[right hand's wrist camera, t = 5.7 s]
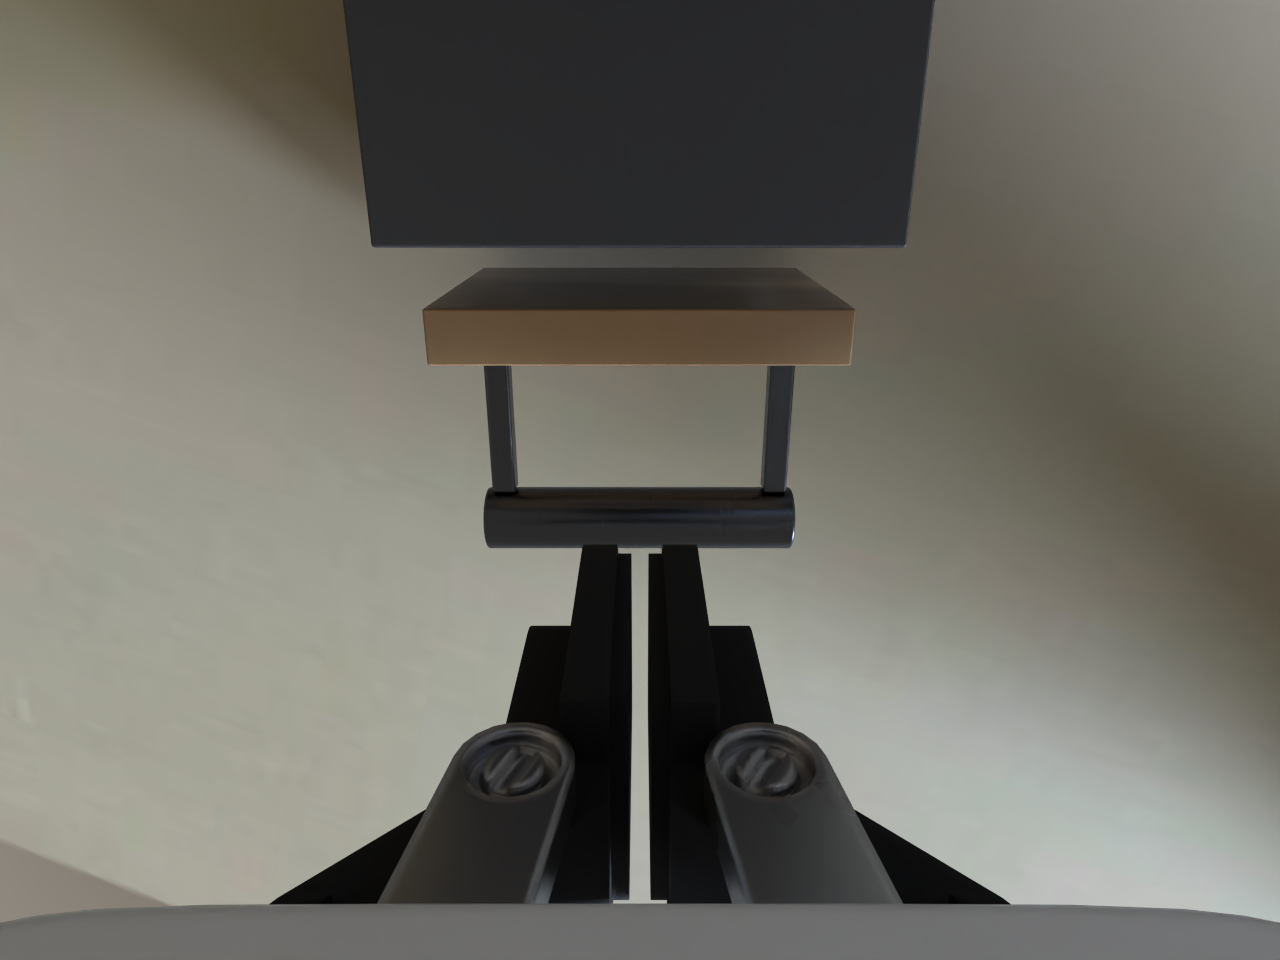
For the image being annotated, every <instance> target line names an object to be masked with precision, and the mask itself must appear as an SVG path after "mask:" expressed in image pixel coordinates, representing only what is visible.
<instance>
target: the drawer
mask: <svg viewBox="0 0 1280 960" xmlns="http://www.w3.org/2000/svg"><path fill="white" fill-rule="evenodd" d="M422 312H423V322H424V332H425V342H426V353H427V363H428V365H430V366H484V374H485V388H486V402H487V416H488V430H489V444H490V458H491V472H492V485H493V487H490V488H489V489H488V491H487V493H486V497H485V503H484V534H485V540H486V543H487V546H488V547H489V548H582V547H583V544H617V545H618V548H662V545H663V544H697V547H698V548H790V547H791V545H792V543H793V539H794V532H795V505H794V498H793V494H792V491H791V489H790V488H788V487H786V482H787V468H788V454H789V440H790V426H791V412H792V398H793V384H794V370H795V366H848V365H850V364H851V356H852V346H853V335H854V325H855V315H856V310H855V309H854V308H853V307H851V306H850V305H848V304H847V303H845V302H844V301H843V300H841V299H840V298H838V297H837V296H835V295H834V294H832V293H831V292H829V291H828V290H827V289H825V288H824V287H822V286H821V285H819V284H818V283H816V282H815V281H813V280H812V279H811V278H809V277H808V276H806V275H805V274H803V273H802V272H800V271H799V270H797V269H796V268H483V269H482V270H480V271H479V272H477V273H476V274H474V275H473V276H471V277H470V278H468V279H467V280H465V281H464V282H462V283H461V284H459V285H458V286H456V287H455V288H454V289H452V290H451V291H449V292H448V293H446V294H445V295H443V296H442V297H440V298H439V299H437V300H436V301H434V302H433V303H431V304H430V305H428V306H427V307H425V308H424V309H423V311H422ZM511 366H768V369H767V386H766V403H765V420H764V437H763V454H762V471H761V486H762V487H517V485H518V473H517V457H516V440H515V423H514V406H513V389H512V372H511Z"/></svg>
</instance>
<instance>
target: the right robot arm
mask: <svg viewBox="0 0 1280 960" xmlns="http://www.w3.org/2000/svg"><path fill="white" fill-rule="evenodd" d="M631 748H632V589H631V554H618V545H617V544H583V547H582V554H581V561H580V567H579V574H578V581H577V587H576V594H575V601H574V608H573V614H572V621H571V626H530V627H529V630H528V634H527V638H526V642H525V646H524V651H523V655H522V659H521V663H520V667H519V672H518V676H517V680H516V684H515V688H514V692H513V697H512V701H511V705H510V709H509V713H508V718H507V722H506V724H503V725H498V726H493V727H491V728H489V729H486V730H484V731H482V732H479V733H477V734H476V735H474V736H473V737H472V738H470V739H469V740H468V741H466V742H465V743H464V744H463V745H462V746H461V747H460V749H459V750H458V751H457V753H456V754H455V755H454V757H453V759H452V761H451V762H450V764H449V766H448V768H447V770H446V772H445V774H444V776H443V778H442V780H441V782H440V784H439V785H438V787H437V789H436V791H435V793H434V795H433V797H432V799H431V801H430V803H429V805H428V807H427V809H426V810H424V811H422V812H421V813H419V814H417V815H416V816H414V817H412V818H411V819H409V820H407V821H406V822H404V823H402V824H401V825H399V826H397V827H396V828H394V829H392V830H391V831H389V832H387V833H386V834H384V835H382V836H381V837H379V838H377V839H376V840H374V841H372V842H371V843H369V844H367V845H366V846H364V847H362V848H360V849H359V850H357V851H355V852H354V853H352V854H350V855H349V856H347V857H345V858H344V859H342V860H340V861H339V862H337V863H335V864H334V865H332V866H330V867H329V868H327V869H325V870H324V871H322V872H320V873H319V874H317V875H315V876H314V877H312V878H310V879H309V880H307V881H305V882H304V883H302V884H300V885H299V886H297V887H295V888H293V889H292V890H290V891H288V892H287V893H285V894H283V895H282V896H280V897H278V898H277V899H276V900H274V901H273V902H272V903H270V904H269V905H191V906H164V907H138V908H112V909H92V910H83V911H74V912H65V913H56V914H47V915H38V916H32V917H27V918H22V919H17V920H12V921H7V922H2V923H0V960H1280V923H1278V922H1273V921H1268V920H1263V919H1258V918H1253V917H1248V916H1242V915H1233V914H1224V913H1215V912H1206V911H1197V910H1188V909H1169V908H1142V907H1116V906H1089V905H1011V904H1010V903H1008V902H1007V901H1006V900H1004V899H1003V898H1002V897H1000V896H998V895H997V894H995V893H993V892H992V891H990V890H988V889H986V888H985V887H983V886H981V885H980V884H978V883H976V882H975V881H973V880H971V879H970V878H968V877H966V876H965V875H963V874H961V873H960V872H958V871H956V870H955V869H953V868H951V867H950V866H948V865H946V864H945V863H943V862H941V861H940V860H938V859H936V858H935V857H933V856H931V855H930V854H928V853H926V852H925V851H923V850H921V849H920V848H918V847H916V846H914V845H913V844H911V843H909V842H908V841H906V840H904V839H903V838H901V837H899V836H898V835H896V834H894V833H893V832H891V831H889V830H888V829H886V828H884V827H883V826H881V825H879V824H878V823H876V822H874V821H873V820H871V819H869V818H868V817H866V816H864V815H863V814H861V813H859V812H858V811H856V810H854V809H853V807H852V805H851V803H850V801H849V799H848V797H847V795H846V793H845V791H844V789H843V787H842V785H841V784H840V782H839V780H838V778H837V776H836V774H835V772H834V770H833V768H832V766H831V764H830V762H829V761H828V759H827V757H826V755H825V754H824V753H823V751H822V750H821V749H820V747H819V746H818V745H817V744H816V743H815V742H814V741H812V740H811V739H810V738H808V737H807V736H806V735H804V734H803V733H801V732H798V731H796V730H794V729H791V728H789V727H787V726H782V725H777V724H774V722H773V718H772V713H771V709H770V705H769V701H768V697H767V693H766V688H765V684H764V680H763V676H762V672H761V667H760V663H759V659H758V655H757V651H756V646H755V642H754V638H753V634H752V630H751V628H750V626H709V621H708V614H707V608H706V601H705V594H704V588H703V581H702V574H701V567H700V561H699V554H698V547H697V544H663V545H662V554H649V586H648V749H649V818H650V887H651V900H667V904H613V900H629V886H630V817H631Z"/></svg>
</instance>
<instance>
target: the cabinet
mask: <svg viewBox="0 0 1280 960" xmlns="http://www.w3.org/2000/svg"><path fill="white" fill-rule="evenodd" d="M343 4H344V13H345V21H346V30H347V38H348V47H349V56H350V64H351V73H352V81H353V90H354V98H355V107H356V115H357V124H358V132H359V141H360V150H361V158H362V167H363V175H364V184H365V192H366V201H367V209H368V218H369V226H370V235H371V243H372V246H373V247H388V248H903V247H905V246H906V244H907V236H908V227H909V219H910V210H911V201H912V193H913V184H914V176H915V167H916V158H917V150H918V141H919V133H920V124H921V115H922V107H923V98H924V90H925V81H926V72H927V64H928V55H929V47H930V38H931V29H932V21H933V12H934V4H935V0H343Z"/></svg>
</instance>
